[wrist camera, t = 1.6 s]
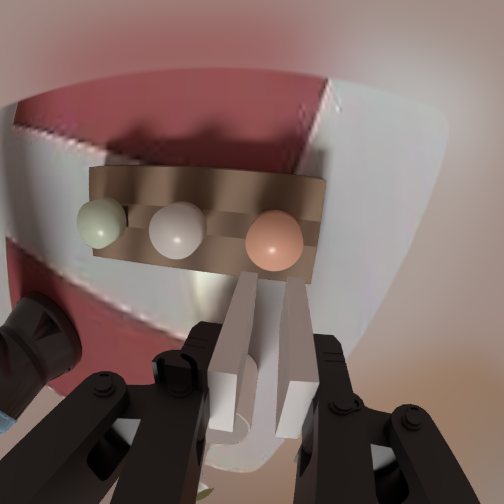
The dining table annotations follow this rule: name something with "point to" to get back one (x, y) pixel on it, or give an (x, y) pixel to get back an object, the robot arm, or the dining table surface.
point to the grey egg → (178, 229)
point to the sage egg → (101, 222)
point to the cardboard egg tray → (210, 213)
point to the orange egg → (274, 240)
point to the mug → (239, 410)
